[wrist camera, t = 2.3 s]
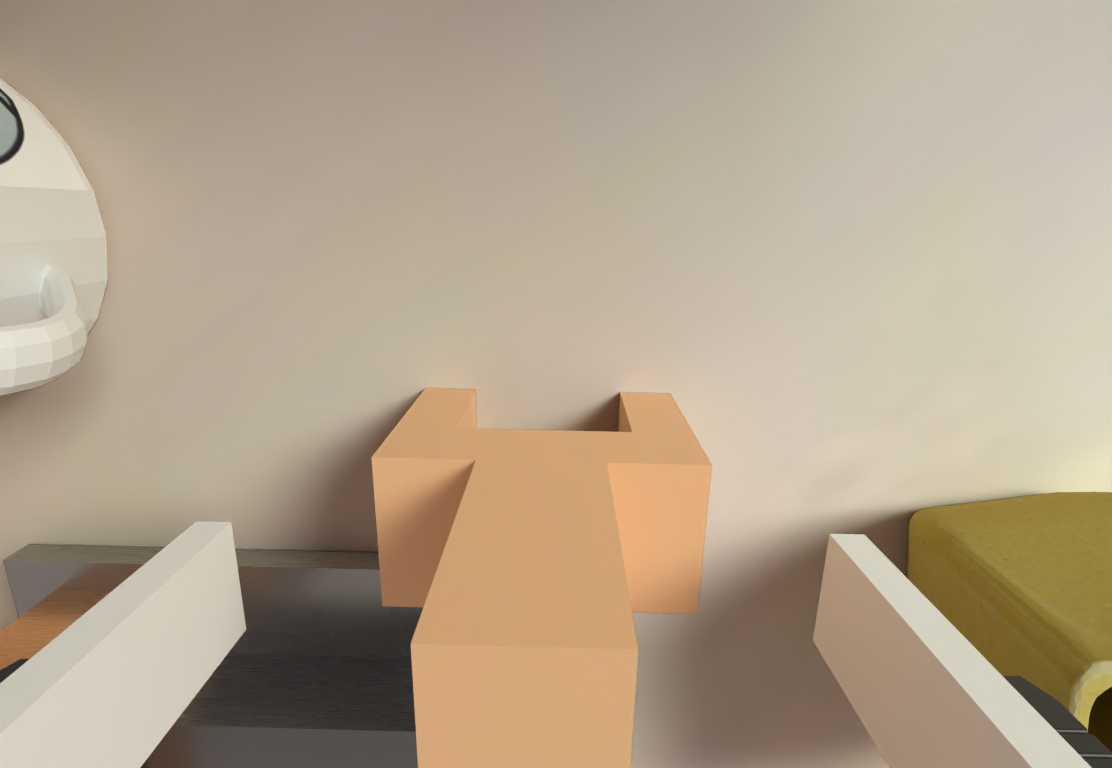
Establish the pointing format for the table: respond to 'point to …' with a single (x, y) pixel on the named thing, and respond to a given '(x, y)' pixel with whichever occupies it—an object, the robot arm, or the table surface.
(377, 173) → the table surface
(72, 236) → the mug
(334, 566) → the rail base
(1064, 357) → the table surface
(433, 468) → the tan wooden arch block
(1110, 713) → the flower pot
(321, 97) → the table surface
